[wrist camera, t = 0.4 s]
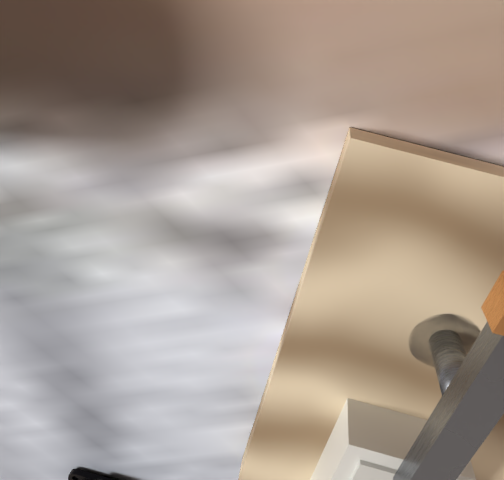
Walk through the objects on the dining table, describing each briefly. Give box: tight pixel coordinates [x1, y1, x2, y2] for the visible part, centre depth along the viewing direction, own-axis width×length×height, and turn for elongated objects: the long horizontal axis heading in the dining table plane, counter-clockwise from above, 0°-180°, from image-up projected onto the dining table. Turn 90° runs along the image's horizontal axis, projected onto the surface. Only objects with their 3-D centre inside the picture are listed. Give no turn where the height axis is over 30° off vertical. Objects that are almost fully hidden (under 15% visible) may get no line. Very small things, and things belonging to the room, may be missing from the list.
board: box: [238, 127, 504, 480], centre depth 24 cm, size 22×14×2 cm, turn 169°
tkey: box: [393, 270, 504, 480], centre depth 19 cm, size 11×2×5 cm, turn 168°
